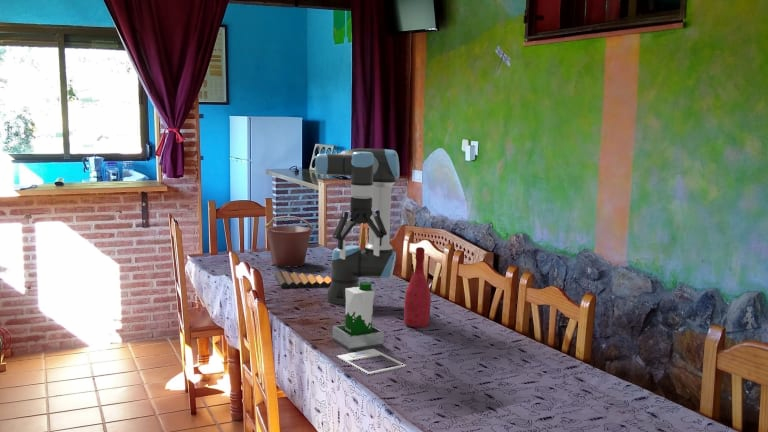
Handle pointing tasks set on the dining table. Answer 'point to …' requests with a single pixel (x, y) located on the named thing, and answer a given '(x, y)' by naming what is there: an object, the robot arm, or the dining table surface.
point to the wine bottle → (417, 296)
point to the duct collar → (358, 339)
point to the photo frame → (367, 354)
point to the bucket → (288, 243)
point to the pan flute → (301, 280)
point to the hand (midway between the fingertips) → (359, 257)
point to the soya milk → (359, 309)
